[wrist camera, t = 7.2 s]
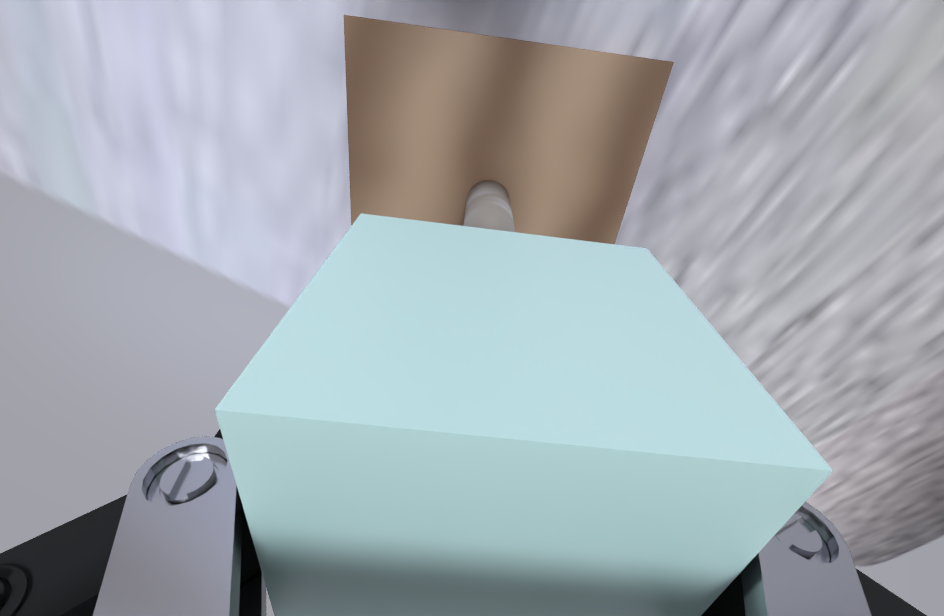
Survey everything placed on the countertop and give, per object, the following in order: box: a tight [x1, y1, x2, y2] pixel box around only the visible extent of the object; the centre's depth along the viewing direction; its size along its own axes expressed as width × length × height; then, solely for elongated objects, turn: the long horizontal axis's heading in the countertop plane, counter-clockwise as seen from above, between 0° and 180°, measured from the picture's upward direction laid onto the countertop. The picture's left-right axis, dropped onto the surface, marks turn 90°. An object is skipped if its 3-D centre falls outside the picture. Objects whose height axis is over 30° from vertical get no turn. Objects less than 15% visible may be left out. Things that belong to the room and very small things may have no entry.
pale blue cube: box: [215, 213, 833, 616], centre depth 8 cm, size 6×6×6 cm
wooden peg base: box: [344, 15, 673, 244], centre depth 20 cm, size 14×14×6 cm
